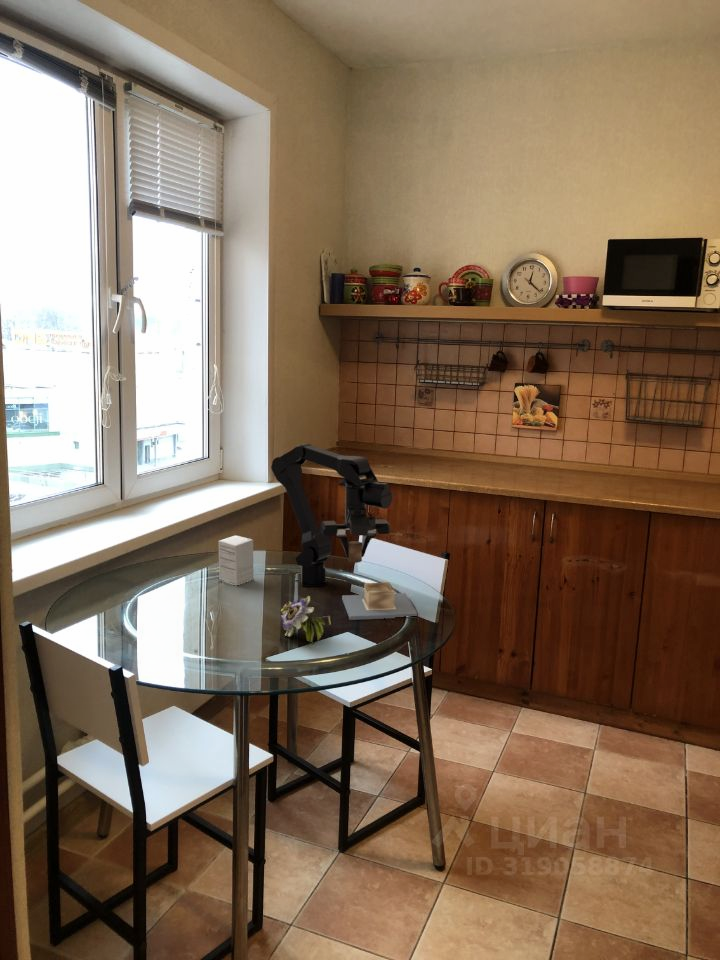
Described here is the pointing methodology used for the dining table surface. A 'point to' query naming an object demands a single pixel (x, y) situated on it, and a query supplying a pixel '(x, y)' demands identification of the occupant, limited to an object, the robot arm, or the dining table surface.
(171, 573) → the dining table surface
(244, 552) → the supplement box
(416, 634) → the dining table surface
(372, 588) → the oak socket block
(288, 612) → the passion flower
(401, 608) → the grey rectangular plate
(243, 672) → the dining table surface
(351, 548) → the walnut peg
